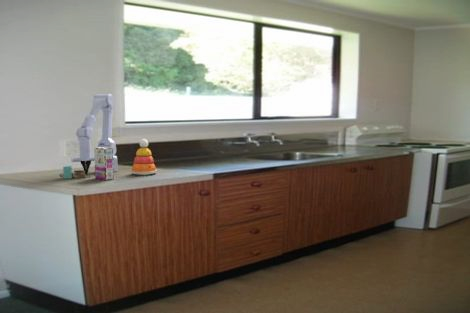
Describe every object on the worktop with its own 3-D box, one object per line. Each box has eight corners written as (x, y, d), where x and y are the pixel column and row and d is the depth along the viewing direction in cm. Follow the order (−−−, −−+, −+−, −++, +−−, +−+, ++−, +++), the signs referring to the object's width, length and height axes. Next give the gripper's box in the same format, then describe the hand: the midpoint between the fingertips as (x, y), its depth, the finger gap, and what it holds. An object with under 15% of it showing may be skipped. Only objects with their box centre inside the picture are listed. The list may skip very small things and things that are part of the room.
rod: (84, 176, 262) (84, 172, 261) (83, 177, 259) (83, 172, 259) (72, 176, 261) (72, 172, 261) (71, 177, 258) (71, 173, 258)
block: (71, 176, 261) (71, 165, 260) (71, 178, 257) (71, 166, 256) (64, 177, 260) (63, 166, 259) (63, 178, 256) (63, 167, 255)
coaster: (77, 173, 274) (77, 172, 274) (78, 175, 265) (78, 174, 265) (60, 174, 271) (60, 173, 271) (60, 176, 262) (60, 175, 262)
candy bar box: (114, 179, 251) (113, 147, 249) (105, 180, 247) (104, 148, 246) (103, 177, 259) (102, 146, 257) (94, 178, 255) (93, 147, 253)
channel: (84, 175, 264) (83, 170, 264) (84, 177, 258) (84, 172, 258) (74, 176, 263) (74, 170, 262) (74, 178, 256) (74, 172, 256)
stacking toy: (145, 176, 259) (144, 140, 257) (125, 174, 266) (124, 139, 264) (162, 173, 272) (161, 138, 269) (142, 171, 279) (141, 137, 276)
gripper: (71, 150, 254) (72, 176, 255) (99, 149, 258) (100, 175, 260) (70, 149, 260) (71, 174, 262) (98, 148, 265) (99, 173, 267)
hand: (86, 174), depth 261 cm, fingers closed
